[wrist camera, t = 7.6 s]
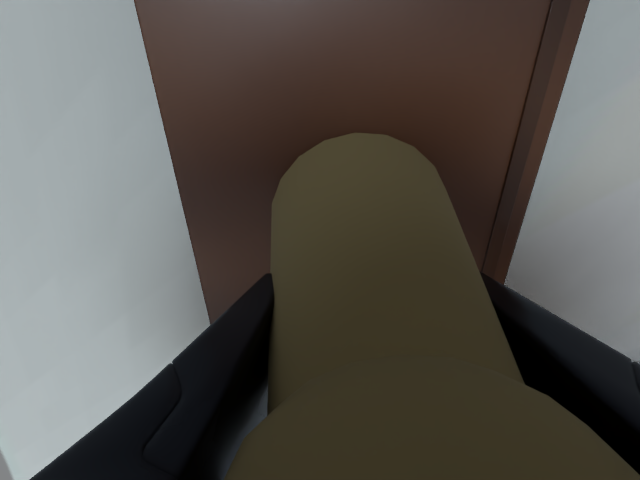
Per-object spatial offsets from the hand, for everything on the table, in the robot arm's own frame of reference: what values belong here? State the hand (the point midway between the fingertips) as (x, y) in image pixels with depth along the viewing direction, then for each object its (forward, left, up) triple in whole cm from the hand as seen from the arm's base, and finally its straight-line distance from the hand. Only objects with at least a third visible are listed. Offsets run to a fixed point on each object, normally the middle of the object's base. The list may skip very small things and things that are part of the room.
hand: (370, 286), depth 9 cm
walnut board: (0, 0, -6) cm, 6 cm away
